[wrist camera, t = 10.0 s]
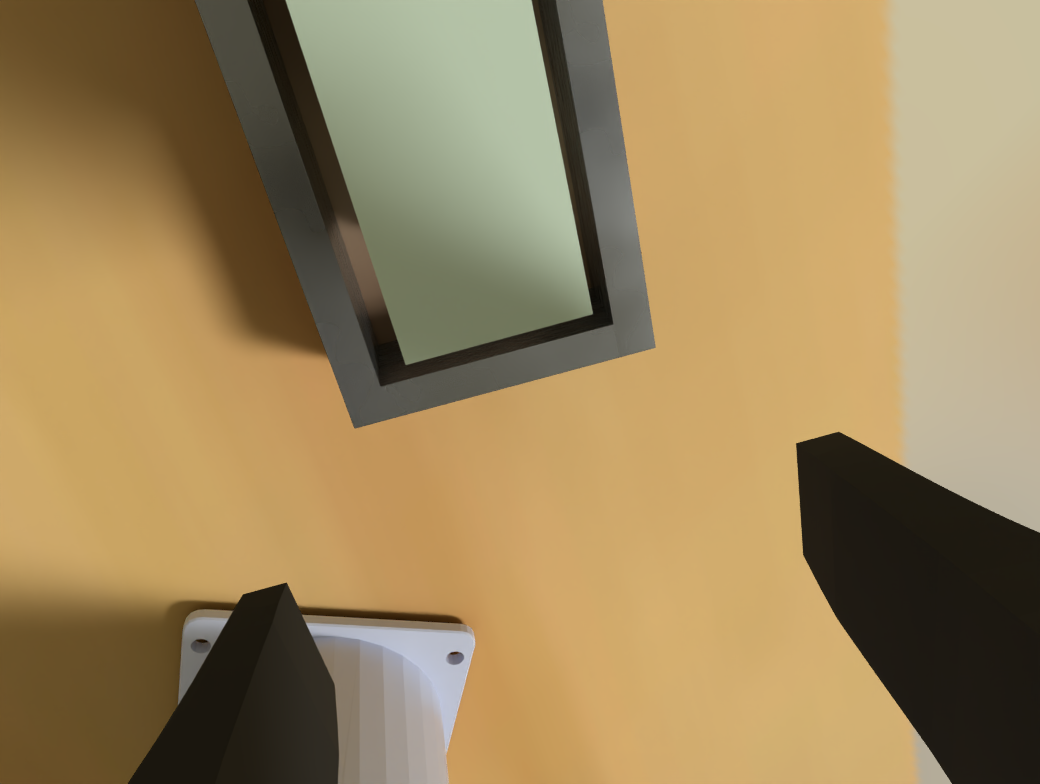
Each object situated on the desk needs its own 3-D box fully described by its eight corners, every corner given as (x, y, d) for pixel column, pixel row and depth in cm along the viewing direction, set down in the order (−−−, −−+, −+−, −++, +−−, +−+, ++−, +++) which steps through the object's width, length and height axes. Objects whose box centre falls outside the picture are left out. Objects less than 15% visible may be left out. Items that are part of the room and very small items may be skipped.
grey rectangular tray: (619, 293, 21) (655, 347, 19) (355, 364, 21) (354, 428, 19) (487, -480, 14) (516, -564, 12) (88, -384, 14) (27, -449, 11)
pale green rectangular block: (528, 200, 19) (592, 313, 14) (393, 236, 19) (405, 365, 14) (429, -251, 15) (466, -332, 10) (255, -207, 15) (198, -265, 10)
